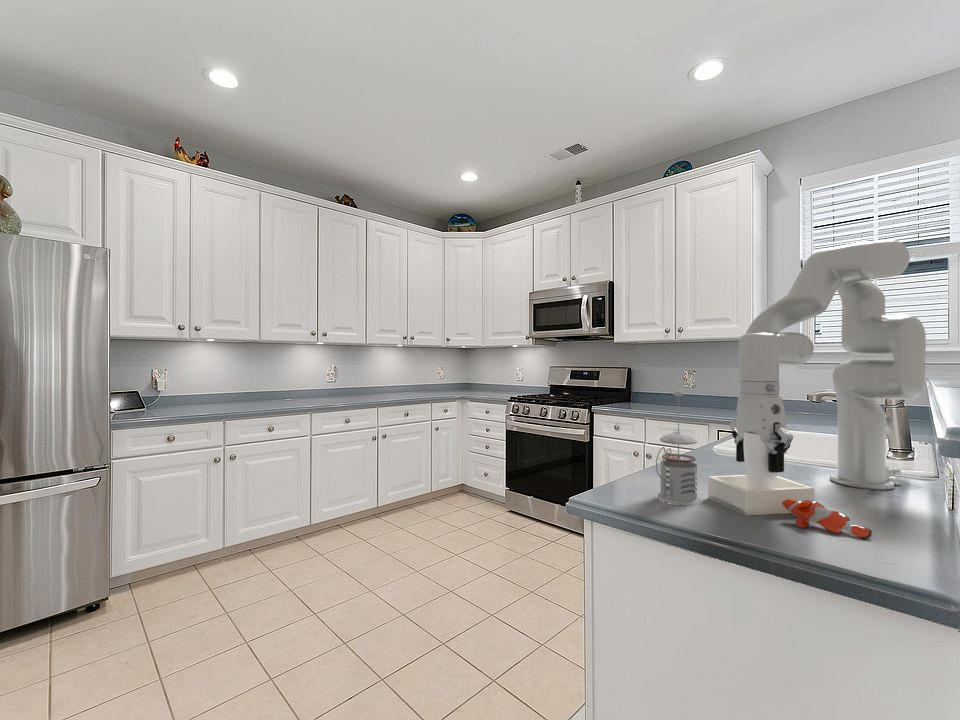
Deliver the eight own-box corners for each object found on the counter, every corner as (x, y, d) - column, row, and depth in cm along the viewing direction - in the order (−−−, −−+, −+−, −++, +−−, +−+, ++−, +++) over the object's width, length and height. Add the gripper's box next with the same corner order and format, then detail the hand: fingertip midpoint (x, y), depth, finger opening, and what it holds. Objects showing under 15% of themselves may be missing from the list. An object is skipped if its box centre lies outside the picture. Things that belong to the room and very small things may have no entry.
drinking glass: (787, 504, 98) (787, 434, 98) (759, 506, 97) (759, 435, 97) (762, 495, 105) (762, 429, 105) (736, 496, 104) (736, 430, 103)
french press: (711, 501, 104) (711, 391, 103) (678, 510, 98) (678, 393, 98) (673, 490, 112) (673, 388, 112) (641, 498, 106) (641, 390, 106)
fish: (774, 495, 92) (805, 492, 94) (774, 519, 92) (805, 515, 94) (841, 517, 79) (876, 512, 82) (841, 544, 80) (876, 538, 82)
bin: (770, 494, 108) (770, 473, 108) (814, 511, 96) (814, 488, 96) (708, 497, 106) (708, 476, 106) (745, 515, 94) (745, 491, 94)
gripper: (807, 391, 93) (807, 476, 93) (746, 386, 110) (746, 457, 110) (773, 392, 92) (774, 477, 92) (717, 386, 109) (717, 458, 109)
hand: (758, 466), depth 101 cm, fingers open, 9 cm apart
